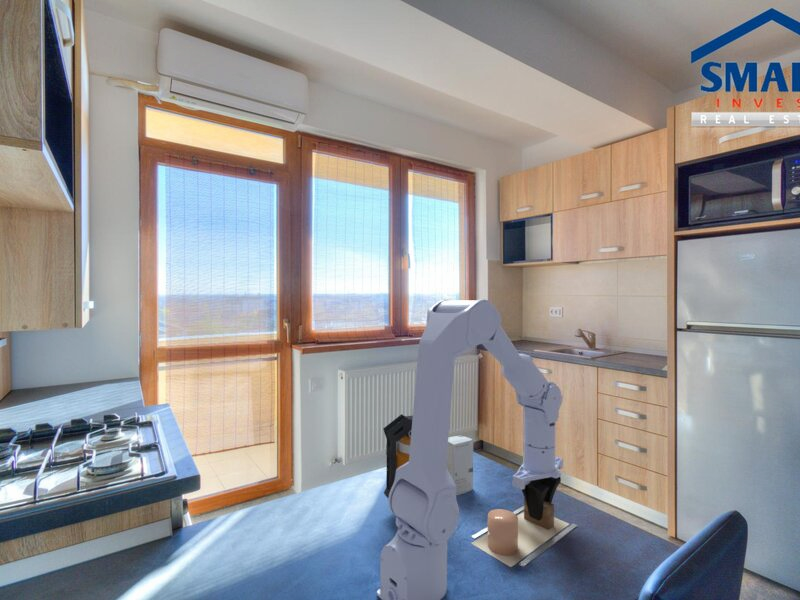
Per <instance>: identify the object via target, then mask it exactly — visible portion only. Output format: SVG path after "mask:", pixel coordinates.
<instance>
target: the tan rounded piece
mask: <svg viewBox="0 0 800 600" xmlns="http://www.w3.org/2000/svg"><path fill="white" fill-rule="evenodd" d="M513 512H514V511H511V510H507V509H503V508H497V509H496V508H494V509H491V510H490V511H489V512H488V513H487V527H488V532H487V533H488V547H489V549H490V550H491V551H493V552H494V553H496V554H499V555H504V556H509V555H513V554H515V553H516V552H517V551H518V517H517V514H516V515H515V514H514V513H513Z"/></svg>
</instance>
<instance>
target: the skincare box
mask: <svg viewBox="0 0 800 600" xmlns="http://www.w3.org/2000/svg"><path fill="white" fill-rule="evenodd" d="M446 467H447V470H448V472H449V473H450V475H451V477H452V479H453V481H454V483H455V485H456V496H459V495H462V494H465V493H469V492H471V491H473V490H474V439H472V438H470V437H467V436H464V435H462V434H461V435H454V436H453V435H452V436H450V437H449V436H448V448H447V461H446Z"/></svg>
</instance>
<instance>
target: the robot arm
mask: <svg viewBox="0 0 800 600" xmlns="http://www.w3.org/2000/svg"><path fill="white" fill-rule="evenodd" d="M478 345H482V346H483V347H484V348H485V349H486V350H487V351H488V352H489V353H490V354H491V355H492V356H493V357H494V359H496V360H497V361H498V362H499V364H500V365H501V366H502V367H501V374H502V376H503V377H504V378H505V379H506V381H507V382H508V383H509V385H510V386H511V387H512V388H513V389H514V392H515V397H516V401H517V403H518V405H520V406H522V407H523V418H522V419H523V423H522V424H523V426H522V427H523V428H522V430H523V432H522V433H523V437H522V438H523V439H522V441H523V443H522V444H523V445H522V446H523V447H522V448H523V450H522V452H523V454H522V455H523V456H522V459H523V461H522V464H521V465H520V467H519V468H518V470H517V472H516V473H515V474H513V475H512V483H511V484H512V487H514V488H516V489H519V490H521V492H522V494H523V497H524V498H525V500H526V504H527V508H528V512H529V516H530V517H532V518H534V519H536V520H538V521H539V520H541V518H542V513H543V504H544V501H546V502H549V503H551V504H553V503H552V501H553V498H554V496H555V493H556V490H557V489H558V487H559V486H560V484H561V480H562V479H561V476H562V472H561V470H563V468H564V458H562V457H558V456H556V422H558V421H559V417H560V416H559V415H560V413H559V411H560V408H561V406H562V403H563V395H562V391H561V388H560V386H558V385H557V383H555V382H553V381H548V379H547V378H546V377H545V375H544V373H543V372H542V371H541V370H540V369H539V367H538V366H537V365H536V364H535V363H534V361H533V360H534V359H533V357H532V356H531V355H528V354H525V353H519V352H518V350H517V348H516V347H515V345H514V344H513V342H512V340H511V339H510V338H509V336H508V335H507V333H506V331H505V330H504V328H503V327H502V315H501V313H500V312H499V311H498V310H497V308H496V306H495V305H494V303H493V302H491V301H490V300H488V299H477V300H450V299H442V300H439V301H437V302H436V303H435V304H434V305H432V306H431V307H430V308H428V310H427V315H426V326H425V328H424V331H423V333H422V335H421V337H420V340H419V342H418V349H417V361H416V362H417V363H416V372H415V373H416V374H415V385H414V399H413V411H412V416H413V419H412V431H411V442H410V454H409V462H407V463H405V464H404V465H402V466H400V467H399V468H398V469H396V475H395V480H394V484H393V486H392V488H391V490H390V493H389V497H388V498H387V499H388V501H387V502H388V503H387V504H388V509H389V511H390V512H391V514H393V516H395V525H396V527H397V530H396V531H397V532H396V534H395V536H394V537H393V538H392V539H391V540H390V541H389V542H388V543H387V544H386V545H384V546H383V548H381V552H380V557H379V558H380V560H379V561H380V564H379V565H380V566H379V567H380V569H379V572H380V574H379V575H380V576H379V577H380V579H379V588H378V590H377V591H376V595H377V597H378V598H380V599H381V600H442V598H443V599H444V597H445V596H446V594H447V591H448V540H449V539H451V537H452V535H453V534H454V533H455V532H456V529H457V527H458V524H459V521H460V520H459V519H460V508H459V505H458V502H457V495H456V485H455V483H454V481H453V479H452V477H451V475H450V473H449V472H448V470H447V467H446V461H447V448H448V438H449V435H450V434H449V433H450V421H451V407H452V397H453V396H452V395H453V383H454V373H455V372H454V370H455V361H456V360H457V358H458V357H460V356H461V355H462V354H463V353H464V352H465V351H468V350H470V349H473V348H474V347H477V346H478ZM559 470H560V471H559Z"/></svg>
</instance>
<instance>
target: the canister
mask: <svg viewBox="0 0 800 600" xmlns="http://www.w3.org/2000/svg"><path fill="white" fill-rule="evenodd" d="M412 419H413V415H406V416H405V415H404V414H399V415H398V416H397V417H395V418H394V419H393V420H392V421H391V422H390V423H388V424H387V425H386V426H385V427H383V429H382V430H383V433H384V435H385V438H386V445H385V446H386V447H385V448H386V449H385V455H386V475H385V476H386V481H385V483H386V487H385V489H384V491H383V494H384V495H385V496H386V498H387V499H388V497H389V493H390V490H391V488H392V486H393V484H394V480H395V475H396V469H398V468H399V467H400V466H402V465H404V464H405V463H407V462H409V454H410V442H411V431H412Z"/></svg>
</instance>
